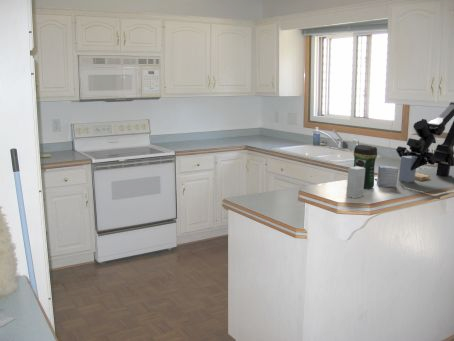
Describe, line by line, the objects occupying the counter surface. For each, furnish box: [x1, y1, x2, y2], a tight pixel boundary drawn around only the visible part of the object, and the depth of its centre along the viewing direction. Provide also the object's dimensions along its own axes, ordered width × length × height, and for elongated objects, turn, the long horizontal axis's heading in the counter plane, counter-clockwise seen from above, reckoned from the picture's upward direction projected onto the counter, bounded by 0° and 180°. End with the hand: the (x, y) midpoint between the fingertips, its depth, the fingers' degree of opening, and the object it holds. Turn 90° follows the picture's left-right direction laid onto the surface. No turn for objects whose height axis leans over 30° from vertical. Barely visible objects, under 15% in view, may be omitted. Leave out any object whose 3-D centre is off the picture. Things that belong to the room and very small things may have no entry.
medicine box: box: [376, 165, 400, 188], centre depth 220 cm, size 8×4×9 cm, turn 84°
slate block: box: [398, 156, 417, 183], centre depth 228 cm, size 5×5×12 cm
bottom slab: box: [414, 178, 432, 182], centre depth 235 cm, size 8×8×2 cm
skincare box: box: [345, 166, 365, 199], centre depth 199 cm, size 6×4×12 cm
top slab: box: [415, 172, 431, 182], centre depth 235 cm, size 7×7×2 cm
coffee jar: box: [353, 144, 378, 190], centre depth 215 cm, size 10×8×19 cm
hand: (406, 168), depth 227 cm, fingers closed on slate block, 5 cm apart
